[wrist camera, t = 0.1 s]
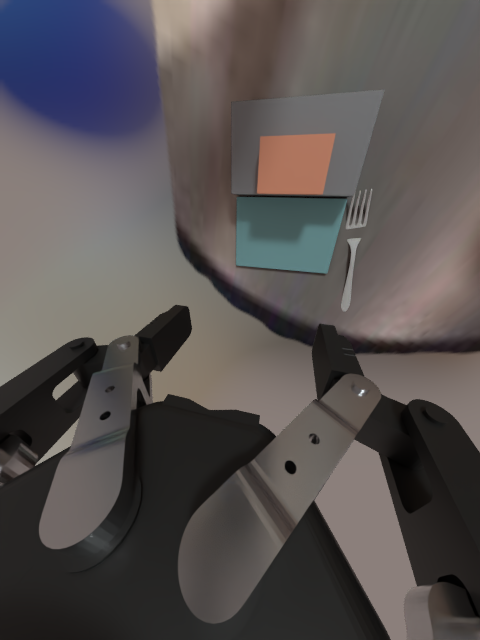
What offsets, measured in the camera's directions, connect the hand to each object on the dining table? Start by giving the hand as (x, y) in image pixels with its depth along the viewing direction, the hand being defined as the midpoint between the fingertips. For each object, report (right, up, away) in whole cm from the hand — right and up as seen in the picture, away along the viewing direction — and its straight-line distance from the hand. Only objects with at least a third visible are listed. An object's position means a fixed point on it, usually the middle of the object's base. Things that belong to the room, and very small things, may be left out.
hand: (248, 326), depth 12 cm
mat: (+8, +16, +23) cm, 29 cm away
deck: (+8, +26, +17) cm, 32 cm away
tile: (+7, +21, +14) cm, 26 cm away
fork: (+20, +10, +24) cm, 33 cm away
